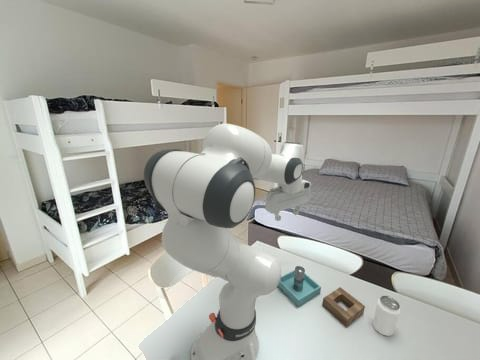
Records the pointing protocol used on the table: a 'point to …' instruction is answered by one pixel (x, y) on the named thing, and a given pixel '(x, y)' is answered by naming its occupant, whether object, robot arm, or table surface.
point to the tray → (299, 298)
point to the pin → (298, 278)
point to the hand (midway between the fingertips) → (287, 217)
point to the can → (386, 315)
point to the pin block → (338, 312)
